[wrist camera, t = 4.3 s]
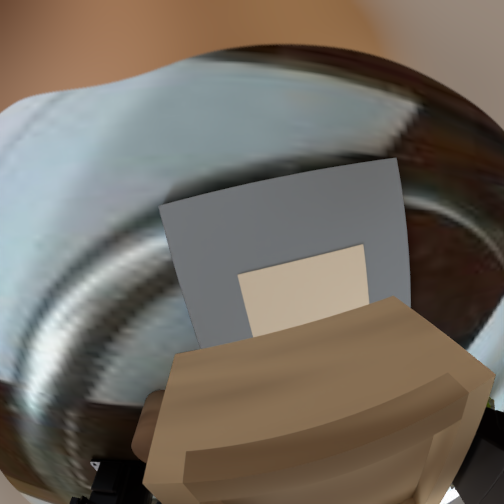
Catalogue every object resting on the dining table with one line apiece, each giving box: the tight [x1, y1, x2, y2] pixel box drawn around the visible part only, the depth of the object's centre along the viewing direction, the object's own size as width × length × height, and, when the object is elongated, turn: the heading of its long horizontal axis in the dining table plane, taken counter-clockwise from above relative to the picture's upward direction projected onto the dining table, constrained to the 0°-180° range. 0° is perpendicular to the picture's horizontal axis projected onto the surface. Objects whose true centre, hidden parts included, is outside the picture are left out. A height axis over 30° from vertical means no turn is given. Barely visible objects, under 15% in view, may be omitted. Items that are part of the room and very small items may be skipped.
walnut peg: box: [131, 390, 165, 463], centre depth 18 cm, size 4×4×5 cm
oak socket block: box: [143, 296, 496, 504], centre depth 7 cm, size 7×7×5 cm
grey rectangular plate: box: [159, 158, 411, 349], centre depth 19 cm, size 18×15×1 cm
